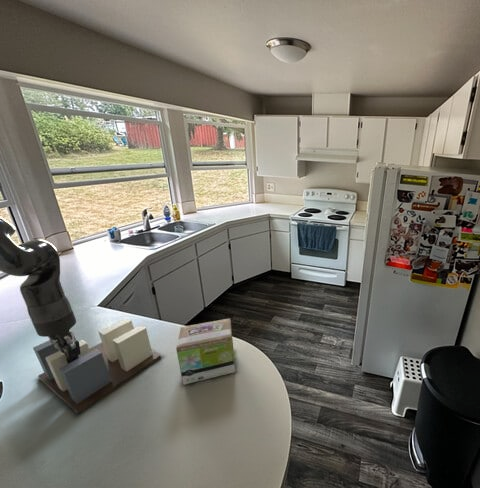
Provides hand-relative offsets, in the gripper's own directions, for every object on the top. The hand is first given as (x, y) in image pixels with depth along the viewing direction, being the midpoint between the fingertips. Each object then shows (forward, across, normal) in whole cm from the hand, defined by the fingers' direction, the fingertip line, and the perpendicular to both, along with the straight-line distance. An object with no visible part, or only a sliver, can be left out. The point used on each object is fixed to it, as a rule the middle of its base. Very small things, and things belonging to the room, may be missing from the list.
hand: (72, 363), depth 73 cm
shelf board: (+7, 0, +6) cm, 9 cm away
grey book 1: (+6, -8, 0) cm, 10 cm away
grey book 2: (+6, +8, 0) cm, 10 cm away
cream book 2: (+6, 0, +12) cm, 13 cm away
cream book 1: (+6, 0, 0) cm, 6 cm away
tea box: (+8, +30, +22) cm, 38 cm away
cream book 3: (+6, +8, +12) cm, 16 cm away
